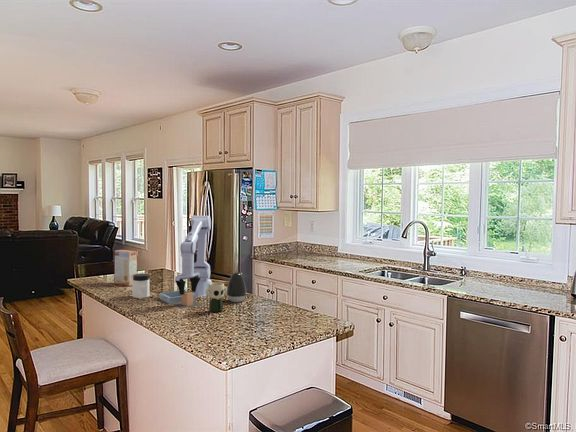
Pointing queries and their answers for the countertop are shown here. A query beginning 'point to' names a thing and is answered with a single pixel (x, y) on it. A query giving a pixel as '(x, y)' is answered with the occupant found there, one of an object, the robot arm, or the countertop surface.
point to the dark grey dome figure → (236, 288)
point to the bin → (173, 297)
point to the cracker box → (125, 266)
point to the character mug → (216, 296)
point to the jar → (140, 285)
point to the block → (187, 298)
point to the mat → (187, 306)
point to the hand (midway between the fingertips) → (187, 293)
